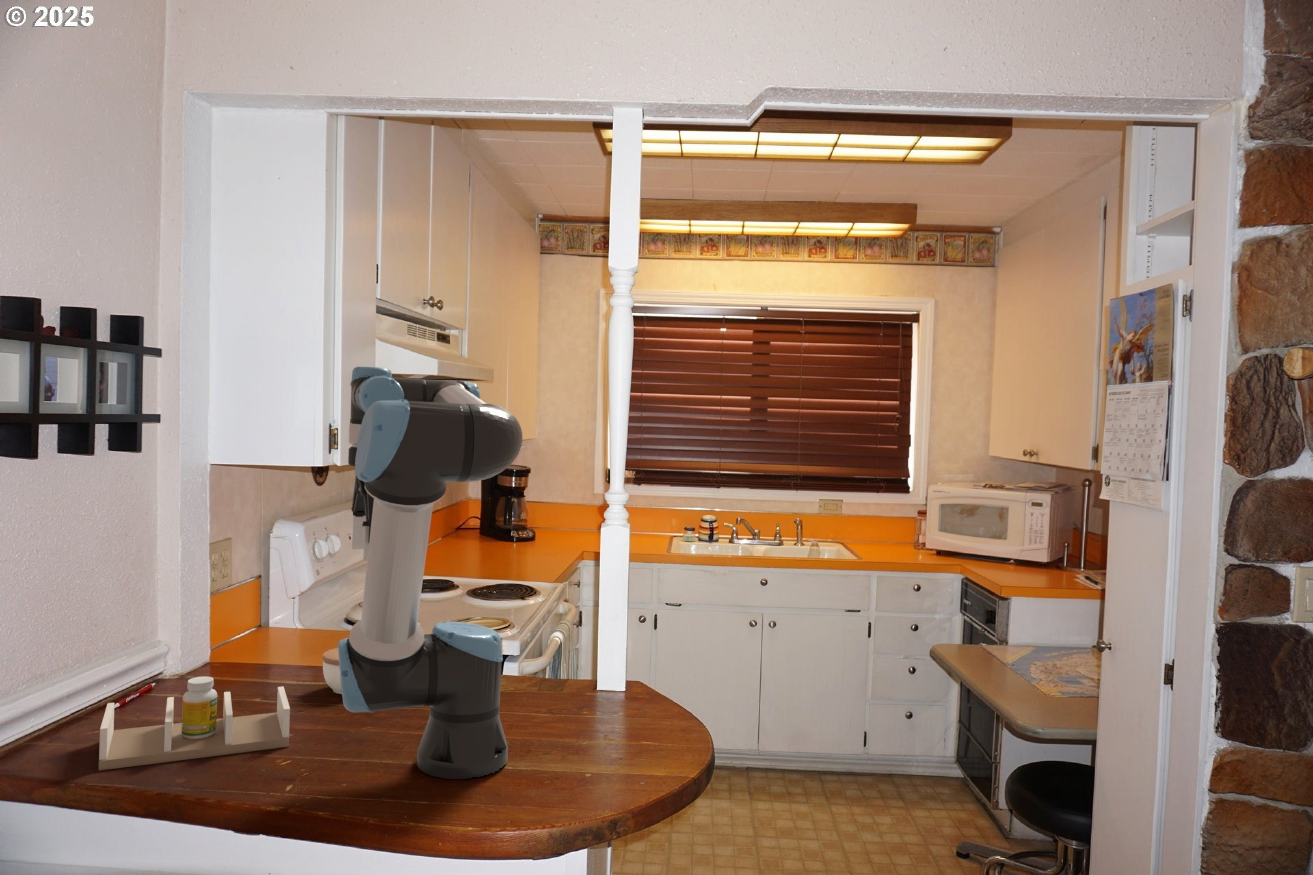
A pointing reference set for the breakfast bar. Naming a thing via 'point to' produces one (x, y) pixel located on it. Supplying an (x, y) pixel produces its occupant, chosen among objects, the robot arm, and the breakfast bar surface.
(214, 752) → the rack
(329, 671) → the lidded jar
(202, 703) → the supplement bottle
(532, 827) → the breakfast bar surface
